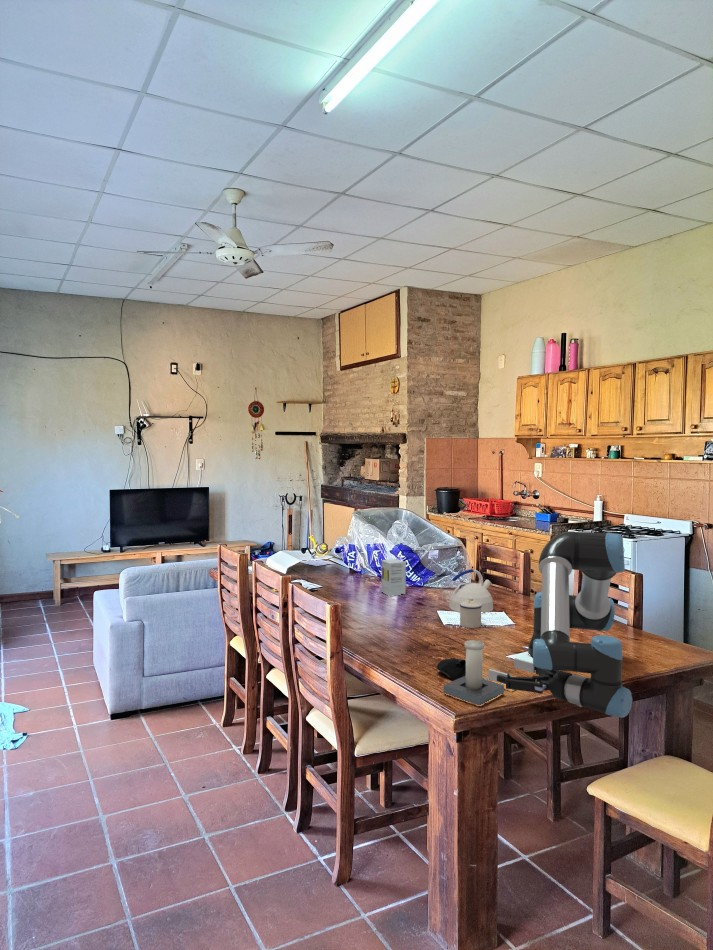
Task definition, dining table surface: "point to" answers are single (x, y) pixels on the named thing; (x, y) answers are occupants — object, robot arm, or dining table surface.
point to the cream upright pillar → (474, 664)
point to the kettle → (472, 593)
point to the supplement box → (393, 577)
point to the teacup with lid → (470, 613)
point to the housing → (473, 691)
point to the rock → (452, 668)
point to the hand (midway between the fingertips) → (502, 668)
